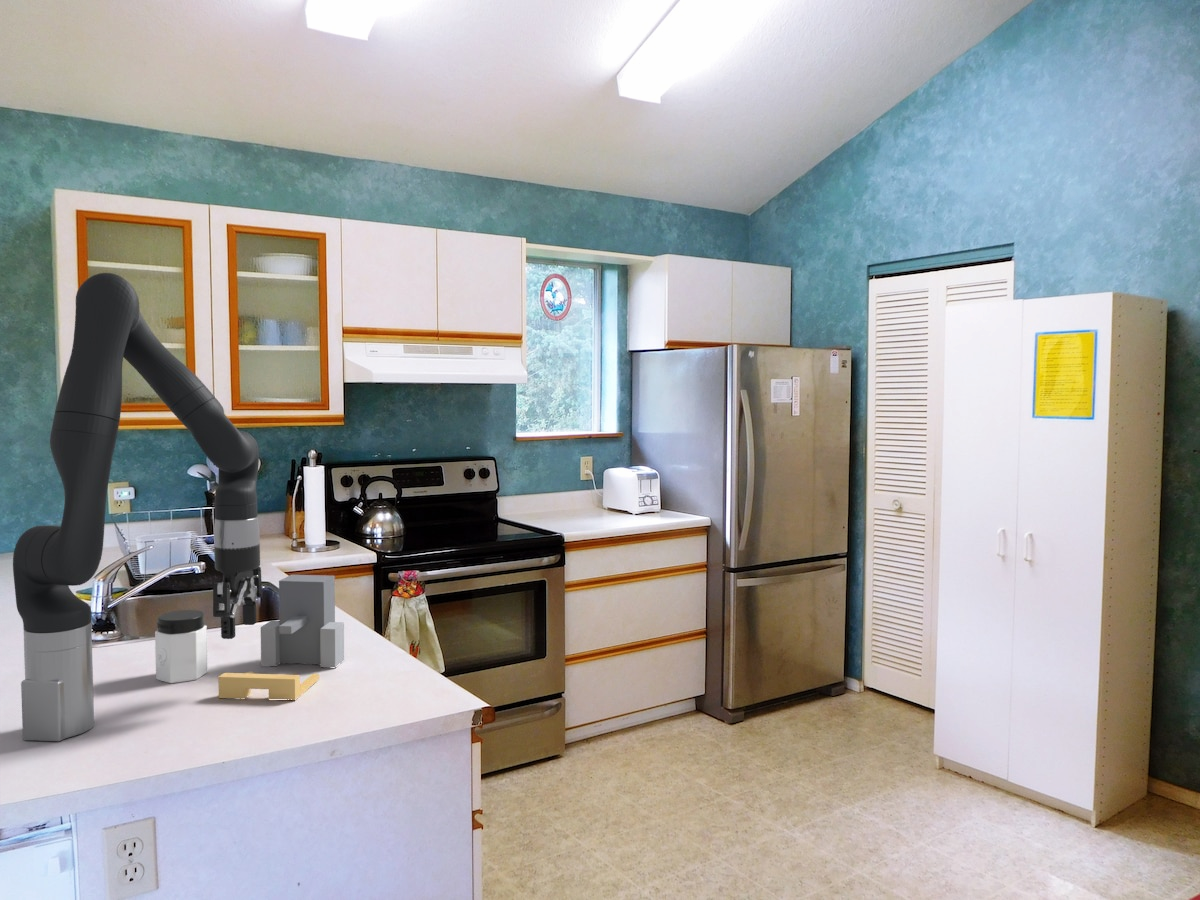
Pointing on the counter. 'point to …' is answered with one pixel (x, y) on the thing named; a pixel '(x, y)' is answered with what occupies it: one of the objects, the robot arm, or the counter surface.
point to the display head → (304, 624)
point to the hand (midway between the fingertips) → (239, 631)
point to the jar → (181, 646)
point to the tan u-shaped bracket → (263, 685)
